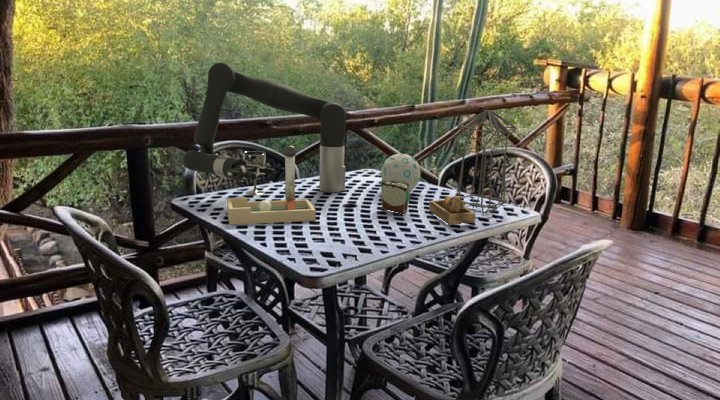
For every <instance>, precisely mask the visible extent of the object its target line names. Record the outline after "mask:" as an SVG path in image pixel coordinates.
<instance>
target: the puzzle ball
mask: <svg viewBox="0 0 720 400" xmlns="http://www.w3.org/2000/svg"><path fill="white" fill-rule="evenodd" d="M421 175H422V174H421V168H420V164H419V163H418V162H417V160H416V158H414V157H413V156H411V155H410V154H407V153H396V154H393V155H390V156H389V157H388V158H387V159H386V160H384V161H383V164H382V166H381V169H380V176H381V180H402V181H406V182H409V183H410V184H411V187H412V190H414V189H415V188H416V187H417V186H418V184H419V182H420V179H421Z"/></svg>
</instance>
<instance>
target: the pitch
mask: <svg viewBox="0 0 720 400" xmlns="http://www.w3.org/2000/svg"><path fill="white" fill-rule="evenodd" d="M261 201H262V200H261ZM261 201H260V200H259V201H249V200H248V197H229V198H228V197H227V198H226V213H227V218H228V225H229V224H237V225H250V224H253V225H255V224H272V223H273V224H274V223H292V222H293V223H294V222H310V221H311V222H312V221H313V222H314V221H316V209H315V207H314V206H313V204H312V203H311V201H310V200H309V199H306V198H305V199H295V200H294V201H295V210H286V208H285V199H284V200H283V199H282V200H268V201H269V202H270V203H271V210H270V211H260V210H259V203H260V202H261Z"/></svg>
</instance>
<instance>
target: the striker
mask: <svg viewBox="0 0 720 400" xmlns="http://www.w3.org/2000/svg"><path fill="white" fill-rule="evenodd" d="M283 155H284V160H285V161H284V169H285V171H284V172H285V173H284V174H285V175H284V176H285V177H284V178H285V179H284V184H285V185H284V188H285V189H284V191H285V192H284V193H285V194H284V195H285V198H284V200H285V208H286V210H295V201H294V200H296V195H295V193H296V180H295V179H296V176H295V175H296V167H295V166H296V155H297V148H296V146H293V145H290V144H289V145H286V146H284V148H283Z"/></svg>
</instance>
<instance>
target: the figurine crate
mask: <svg viewBox="0 0 720 400" xmlns="http://www.w3.org/2000/svg"><path fill="white" fill-rule="evenodd" d="M444 200H445V199H441V200H440V199H439V200H429V208H428V212H429V211H431V212H432V213H434V214H435V215H436V216H438V217H439V218H441V219H442V220H443V221H445V222H446V223H448V224H449V225H452V224H461V223H474V224H475V223H476V222H475V221H476V217H475V216H476V213H475V212H474V211H473V210H469V209H467V208H468V207H466V206H465V207H464V208H463V209H462V208H460V211H458V212H457V213H456V214H451V213H449V212H448V211H447V210H445V209H444V208H443V203H444Z"/></svg>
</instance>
